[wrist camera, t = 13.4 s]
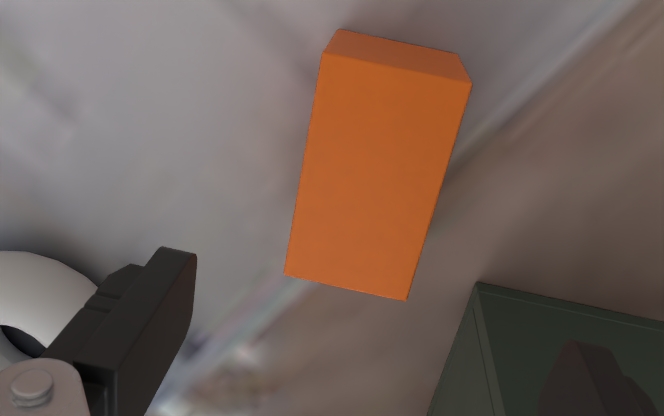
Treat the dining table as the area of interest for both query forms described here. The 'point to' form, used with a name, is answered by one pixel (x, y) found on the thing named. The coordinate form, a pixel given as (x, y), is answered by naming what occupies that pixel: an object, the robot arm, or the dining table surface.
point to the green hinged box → (536, 351)
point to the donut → (37, 299)
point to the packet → (374, 162)
